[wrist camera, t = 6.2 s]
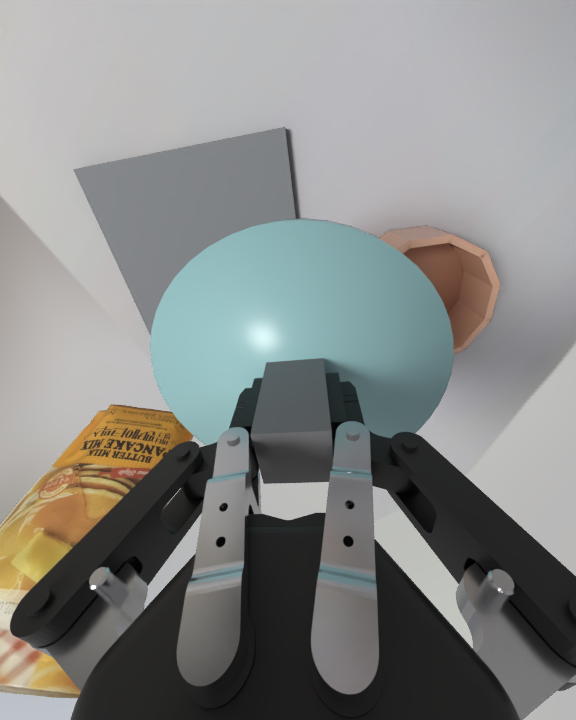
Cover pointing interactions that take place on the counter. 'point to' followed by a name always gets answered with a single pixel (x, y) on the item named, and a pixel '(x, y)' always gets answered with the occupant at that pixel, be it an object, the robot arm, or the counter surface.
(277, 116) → the counter surface
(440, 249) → the bowl
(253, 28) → the counter surface
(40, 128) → the counter surface
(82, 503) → the pancake mix bag
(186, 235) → the mat
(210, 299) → the lid
